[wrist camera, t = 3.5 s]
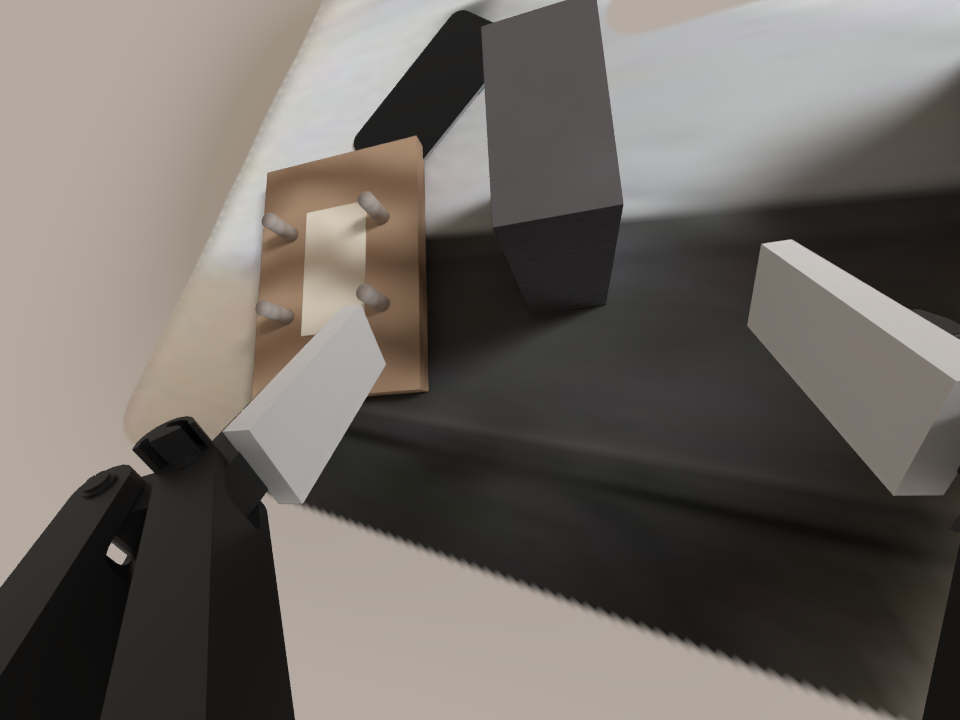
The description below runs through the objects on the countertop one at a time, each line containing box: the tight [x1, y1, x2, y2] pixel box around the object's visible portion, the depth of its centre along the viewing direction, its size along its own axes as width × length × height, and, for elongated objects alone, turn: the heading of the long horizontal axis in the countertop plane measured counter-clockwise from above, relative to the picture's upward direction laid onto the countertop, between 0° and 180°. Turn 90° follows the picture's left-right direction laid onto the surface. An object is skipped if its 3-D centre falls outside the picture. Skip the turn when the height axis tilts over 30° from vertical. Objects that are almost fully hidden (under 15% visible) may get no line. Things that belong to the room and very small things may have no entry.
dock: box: [252, 136, 429, 399], centre depth 30 cm, size 20×14×4 cm
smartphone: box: [354, 10, 493, 161], centre depth 33 cm, size 7×1×15 cm
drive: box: [481, 0, 623, 314], centre depth 22 cm, size 10×5×12 cm, turn 2°
